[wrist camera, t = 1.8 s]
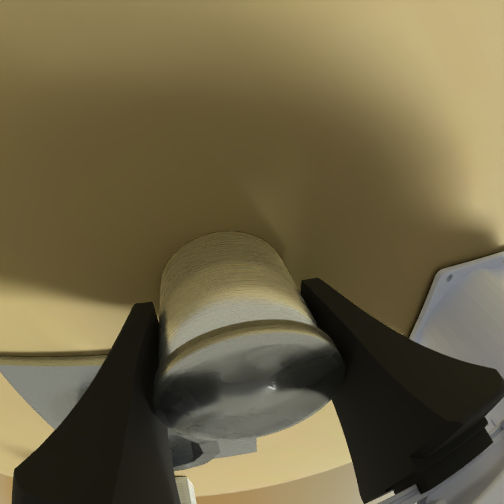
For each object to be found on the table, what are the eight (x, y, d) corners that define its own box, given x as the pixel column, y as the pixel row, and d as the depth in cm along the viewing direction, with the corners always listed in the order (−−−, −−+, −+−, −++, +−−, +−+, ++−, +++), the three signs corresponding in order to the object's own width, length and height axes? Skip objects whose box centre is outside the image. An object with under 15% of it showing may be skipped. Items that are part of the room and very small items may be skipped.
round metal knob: (292, 219, 10) (365, 317, 6) (285, 324, 13) (326, 419, 9) (143, 237, 9) (125, 358, 5) (170, 341, 12) (178, 448, 8)
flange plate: (252, 337, 13) (263, 376, 11) (254, 445, 20) (261, 468, 18) (-3, 356, 10) (-14, 387, 9) (95, 456, 18) (94, 477, 16)
